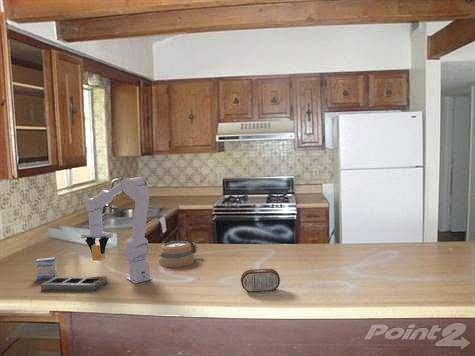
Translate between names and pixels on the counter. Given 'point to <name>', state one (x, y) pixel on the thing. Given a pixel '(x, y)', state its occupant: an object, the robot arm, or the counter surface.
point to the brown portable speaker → (260, 280)
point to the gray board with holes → (74, 284)
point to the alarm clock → (177, 253)
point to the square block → (97, 252)
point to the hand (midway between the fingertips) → (98, 253)
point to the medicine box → (46, 268)
